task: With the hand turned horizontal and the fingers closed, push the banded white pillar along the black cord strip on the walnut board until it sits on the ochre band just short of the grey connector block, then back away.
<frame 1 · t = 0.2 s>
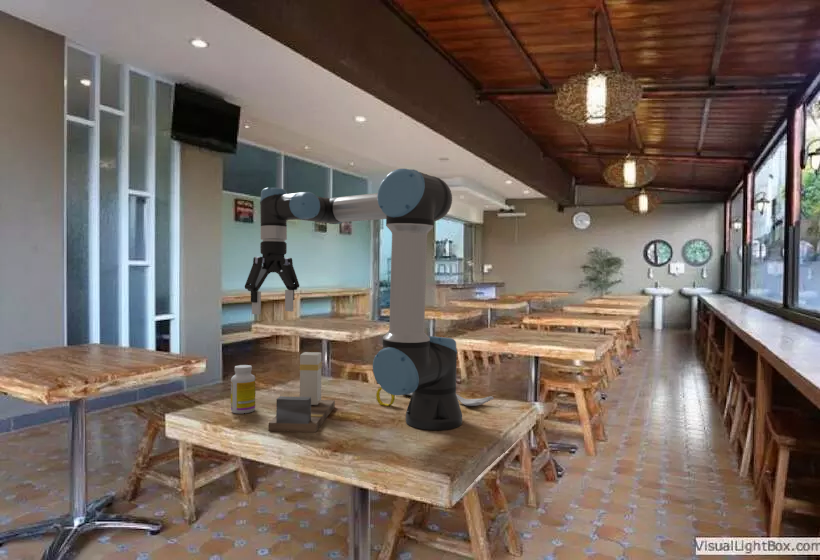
hand: (273, 312, 155), 28 cm above the table, tool pointing down, fingers open, 13 cm apart
board: (304, 417, 142), on the table
yellow ring: (385, 405, 157), on the table
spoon: (441, 401, 163), on the table
banded white pillar: (310, 411, 149), resting on board, slide at 0.0 cm
supplement bottle: (243, 411, 148), on the table
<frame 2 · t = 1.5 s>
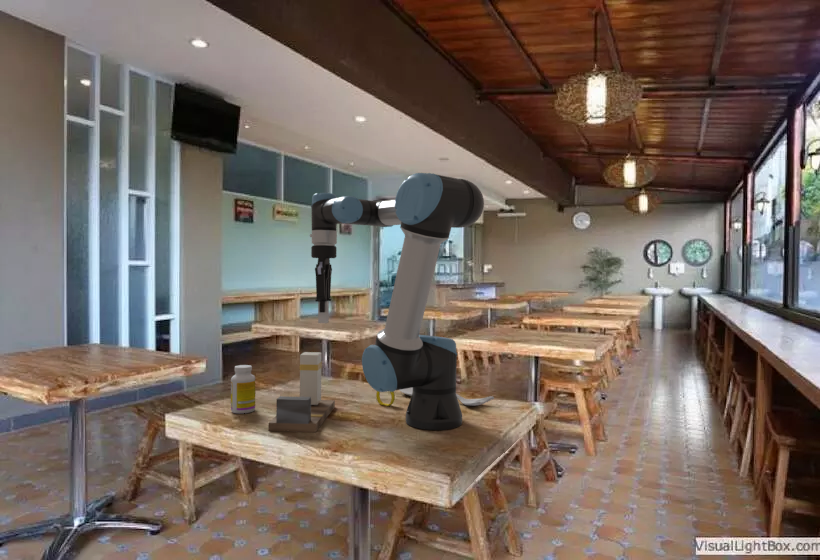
hand: (323, 322, 158), 24 cm above the table, tool pointing down, fingers closed
nothing on the table moved.
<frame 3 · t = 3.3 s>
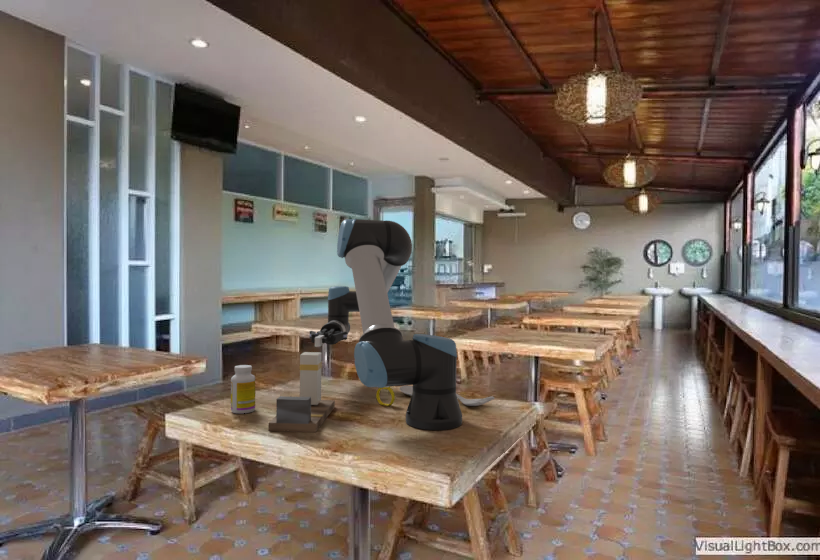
hand: (317, 342, 157), 19 cm above the table, tool horizontal, fingers closed
nothing on the table moved.
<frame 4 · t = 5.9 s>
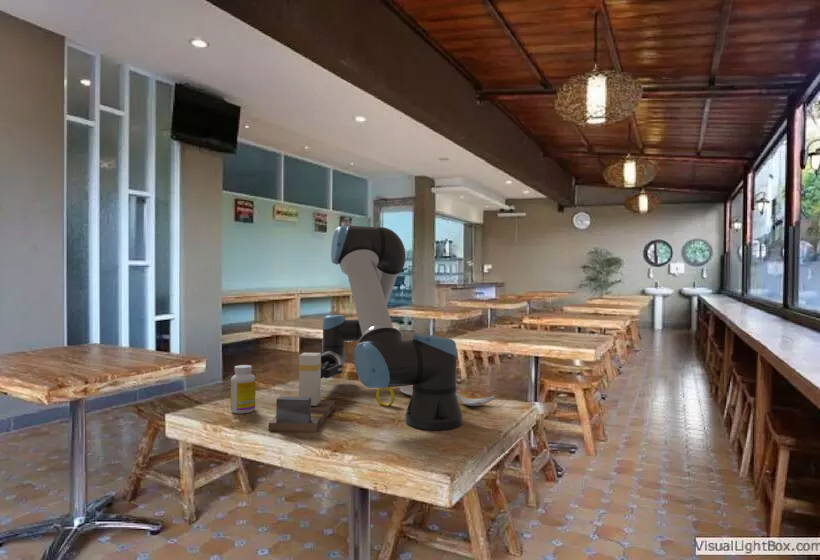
hand: (310, 378, 151), 9 cm above the table, tool horizontal, fingers closed
banded white pillar: (309, 411, 148), resting on board, slide at 0.9 cm, touching gripper
everything else where it was.
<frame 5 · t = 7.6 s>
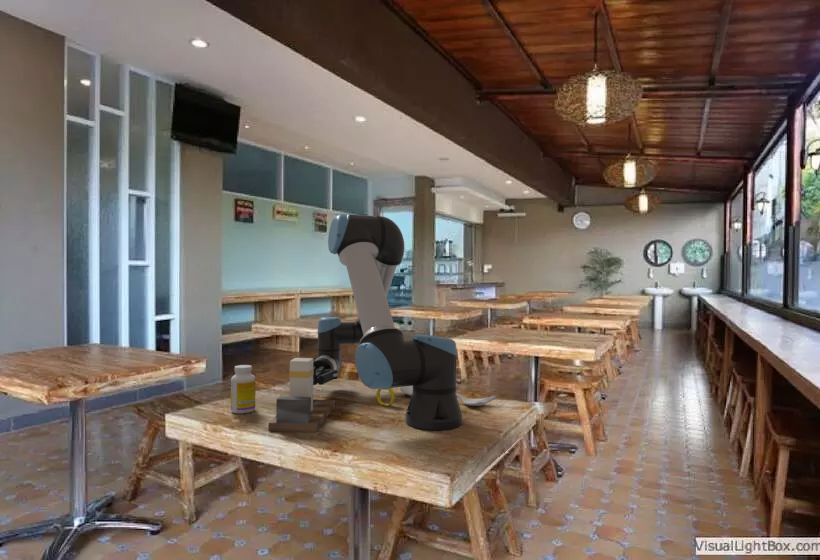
hand: (303, 385, 141), 9 cm above the table, tool horizontal, fingers closed
banded white pillar: (301, 421, 139), resting on board, slide at 10.1 cm, touching gripper
everything else where it was.
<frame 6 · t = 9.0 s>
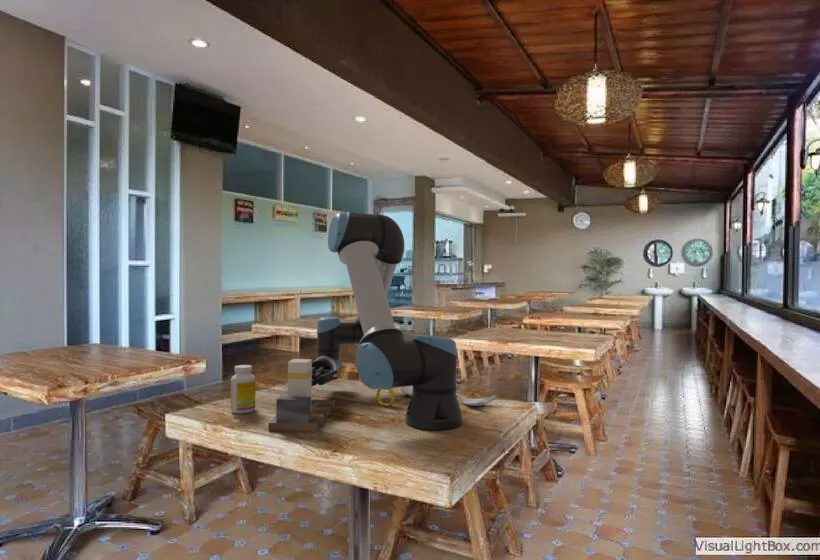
hand: (302, 386, 140), 9 cm above the table, tool horizontal, fingers closed
banded white pillar: (299, 423, 137), resting on board, slide at 11.8 cm
everything else where it was.
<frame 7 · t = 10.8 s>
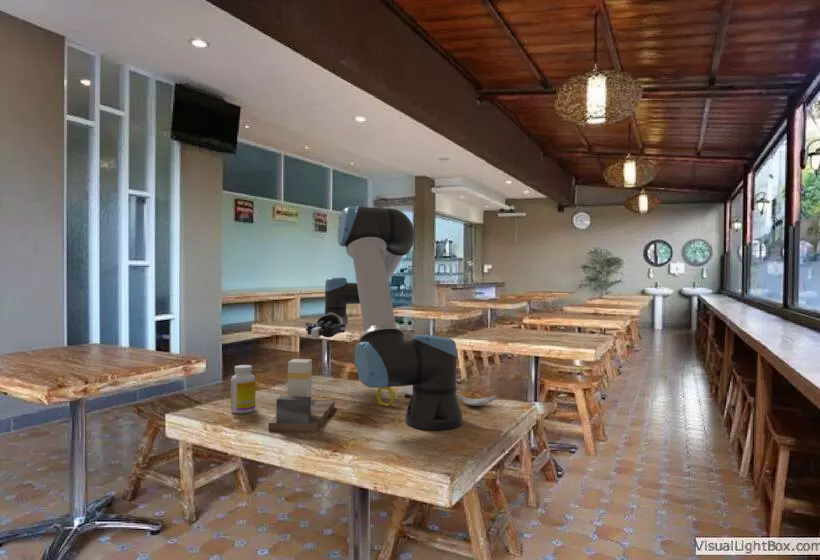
hand: (313, 334, 151), 22 cm above the table, tool horizontal, fingers closed
nothing on the table moved.
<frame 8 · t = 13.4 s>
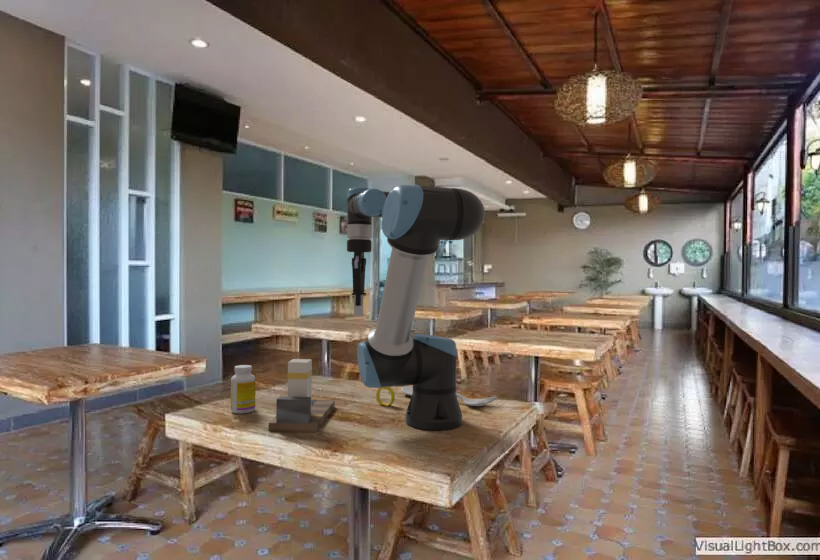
hand: (358, 316, 159), 26 cm above the table, tool pointing down, fingers closed
at the end: banded white pillar slide at 11.8 cm; the gripper is holding nothing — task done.
